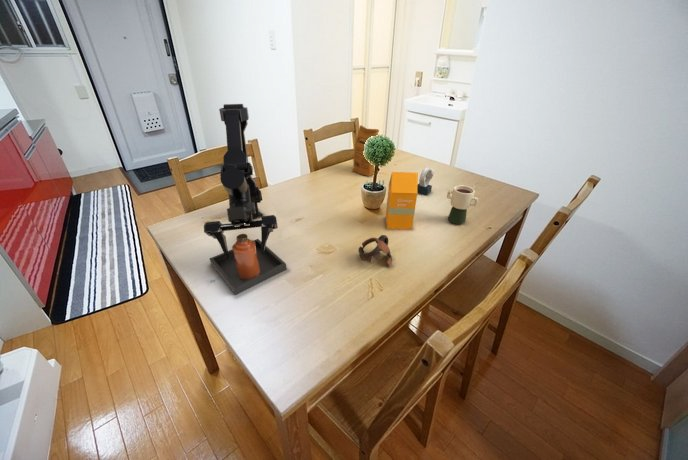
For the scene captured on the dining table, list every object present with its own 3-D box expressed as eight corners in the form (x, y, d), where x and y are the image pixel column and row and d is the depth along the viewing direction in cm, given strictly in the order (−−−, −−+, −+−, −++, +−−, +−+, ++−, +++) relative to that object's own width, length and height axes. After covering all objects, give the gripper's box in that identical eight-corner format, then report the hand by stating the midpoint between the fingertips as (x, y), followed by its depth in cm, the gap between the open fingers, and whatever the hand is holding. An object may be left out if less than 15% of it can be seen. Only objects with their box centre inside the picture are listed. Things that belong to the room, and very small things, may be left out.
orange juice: (385, 217, 114) (390, 167, 103) (408, 218, 114) (416, 168, 103) (387, 229, 108) (392, 176, 97) (411, 229, 107) (420, 177, 96)
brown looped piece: (389, 275, 88) (376, 256, 84) (363, 275, 94) (350, 257, 90) (401, 245, 95) (390, 226, 91) (376, 247, 101) (364, 229, 97)
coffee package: (363, 165, 159) (365, 122, 147) (381, 172, 151) (384, 127, 139) (349, 170, 153) (350, 126, 141) (367, 178, 145) (370, 131, 133)
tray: (211, 265, 90) (209, 258, 88) (259, 245, 98) (257, 238, 97) (236, 296, 79) (234, 288, 78) (286, 271, 88) (286, 263, 86)
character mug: (474, 222, 112) (483, 190, 105) (467, 230, 108) (476, 197, 101) (445, 212, 118) (452, 182, 111) (438, 220, 113) (445, 188, 106)
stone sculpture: (432, 190, 135) (437, 167, 129) (425, 197, 129) (429, 172, 123) (421, 187, 137) (424, 164, 131) (413, 193, 132) (416, 169, 126)
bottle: (234, 271, 86) (226, 235, 80) (254, 263, 90) (247, 227, 83) (244, 282, 83) (236, 246, 76) (264, 273, 86) (257, 237, 79)
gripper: (195, 195, 75) (200, 257, 72) (272, 188, 79) (279, 247, 76) (207, 208, 86) (211, 262, 83) (274, 201, 89) (280, 253, 86)
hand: (245, 256), depth 82 cm, fingers open, 9 cm apart
